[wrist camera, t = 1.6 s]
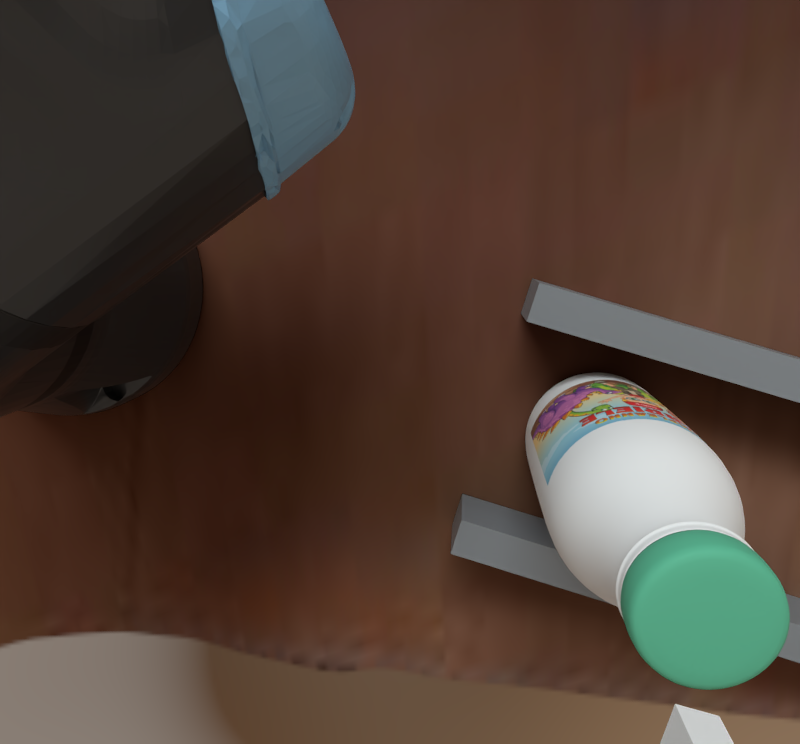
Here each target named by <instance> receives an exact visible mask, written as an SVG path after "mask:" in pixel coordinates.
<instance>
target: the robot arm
mask: <svg viewBox="0 0 800 744" xmlns="http://www.w3.org/2000/svg"><path fill="white" fill-rule="evenodd" d="M354 100H355V83H354V77H353V72H352V68H351V65H350V62H349V59H348V57H347V54H346V51H345V49H344V46H343V44H342V41H341V39H340V36H339V34H338V32H337V29H336V27H335V25H334V22H333V20H332V18H331V15H330V13H329V11H328V8H327V6H326V4H325V2H324V0H0V417H2V416H5V415H7V414H10V413H12V412H15V411H17V410H18V411H27V412H36V413H44V414H53V415H67V416H70V415H84V414H91V413H97V412H101V411H105V410H108V409H111V408H114V407H117V406H119V405H121V404H124V403H126V402H128V401H130V400H132V399H134V398H137V397H139V396H141V395H143V394H144V393H146V392H148V391H149V390H151V389H152V388H154V387H155V386H157V385H158V384H159V383H160V382H162V381H163V380H164V379H165V378H166V377H167V376H168V375H169V374H170V373H171V372H172V371H173V370H174V368H175V367H176V366H177V365H178V363H179V362H180V361H181V359H182V358H183V356H184V355H185V353H186V351H187V349H188V347H189V346H190V343H191V341H192V339H193V337H194V334H195V331H196V328H197V325H198V321H199V317H200V312H201V305H202V292H203V286H202V271H201V265H200V259H199V255H198V251H197V248H196V247H197V246H198V245H199V244H201V243H202V242H203V241H205V240H206V239H207V238H209V237H210V236H211V235H213V234H214V233H215V232H217V231H218V230H219V229H221V228H222V227H224V226H225V225H226V224H228V223H229V222H230V221H232V220H233V219H234V218H236V217H237V216H238V215H240V214H241V213H242V212H244V211H245V210H246V209H248V208H249V207H250V206H252V205H253V204H254V203H256V202H257V201H259V200H260V199H261V198H263V197H264V196H265V197H266V198H267V199H268V200H270V199H272V198H273V197H274V196H276V195H277V194H278V193H279V191H280V186H281V183H282V182H283V181H285V180H286V179H287V178H288V177H289V176H291V175H292V174H293V173H294V172H296V171H297V170H298V169H299V168H301V167H302V166H303V165H304V164H305V163H307V162H308V161H309V160H310V159H312V158H313V157H314V156H315V155H316V154H318V153H319V152H320V151H321V150H323V149H324V148H325V147H326V146H327V145H329V144H330V143H331V142H332V141H334V140H335V139H336V138H337V137H338V136H339V135H340V133H341V132H342V131H343V130H344V128H345V127H346V125H347V123H348V122H349V120H350V117H351V114H352V111H353V107H354ZM660 744H734V743H733V741H732V739H731V738H730V736H729V733H728V732H727V730H726V728H725V726H724V724H723V722H722V720H721V718H720V717H719V716H717V715H714V714H710V713H706V712H703V711H699V710H696V709H692V708H688V707H685V706H681V705H677V704H675V706H674V708H673V711H672V714H671V716H670V719H669V722H668V724H667V727H666V729H665V732H664V735H663V737H662V740H661V742H660Z"/></svg>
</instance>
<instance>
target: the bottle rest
mask: <svg viewBox="0 0 800 744" xmlns="http://www.w3.org/2000/svg"><path fill="white" fill-rule="evenodd" d="M521 314H522V316H523V317H524V318H525V320H526V321H527V322H530V323H533V324H537V325H540V326H543V327H547V328H550V329H554V330H557V331H560V332H564V333H567V334H570V335H574V336H577V337H580V338H584V339H587V340H590V341H594V342H597V343H600V344H604V345H607V346H611V347H614V348H617V349H621V350H624V351H627V352H631V353H634V354H637V355H641V356H644V357H647V358H651V359H654V360H657V361H661V362H664V363H668V364H671V365H674V366H678V367H681V368H684V369H688V370H691V371H694V372H698V373H701V374H704V375H708V376H711V377H714V378H718V379H721V380H725V381H728V382H731V383H735V384H738V385H741V386H745V387H748V388H751V389H755V390H758V391H761V392H765V393H768V394H771V395H775V396H778V397H782V398H785V399H788V400H792V401H795V402H798V403H800V358H799V357H796V356H793V355H789V354H786V353H782V352H779V351H776V350H772V349H769V348H765V347H762V346H759V345H755V344H752V343H749V342H745V341H742V340H738V339H735V338H732V337H728V336H725V335H722V334H718V333H715V332H711V331H708V330H705V329H701V328H698V327H694V326H691V325H688V324H684V323H681V322H678V321H674V320H671V319H667V318H664V317H661V316H657V315H654V314H651V313H647V312H644V311H640V310H637V309H634V308H630V307H627V306H623V305H620V304H617V303H613V302H610V301H607V300H603V299H600V298H596V297H593V296H590V295H586V294H583V293H579V292H576V291H573V290H569V289H566V288H563V287H559V286H556V285H552V284H549V283H546V282H542V281H539V280H536V279H532V281H531V284H530V287H529V290H528V293H527V296H526V299H525V302H524V306H523V309H522V312H521ZM451 554H453V555H456V556H459V557H462V558H466V559H469V560H472V561H475V562H478V563H482V564H485V565H488V566H491V567H494V568H498V569H501V570H504V571H507V572H510V573H514V574H517V575H520V576H523V577H526V578H530V579H533V580H536V581H539V582H542V583H546V584H549V585H552V586H555V587H558V588H561V589H565V590H568V591H571V592H574V593H577V594H581V595H584V596H587V597H590V598H593V599H597V600H600V601H603V602H606V603H609V602H607V601H605V600H603V599H602V598H600V597H598V596H597V595H596V594H594V593H593V592H591V591H590V590H589V589H588V588H586V587H585V586H584V585H583V584H582V583H581V582H580V581H579V580H578V579H577V578H576V577H575V576H574V575H573V573H572V572H571V571H570V570H569V569H568V567H567V566H566V564H565V563H564V561H563V560H562V558H561V557H560V555H559V553H558V551H557V550H556V548H555V546H554V543H553V541H552V538H551V536H550V533H549V531H548V528H547V525H546V523H545V519H542V518H539V517H536V516H533V515H529V514H526V513H523V512H520V511H516V510H513V509H510V508H507V507H504V506H500V505H497V504H494V503H491V502H487V501H484V500H481V499H478V498H474V497H471V496H468V495H465V494H462V496H461V499H460V502H459V505H458V508H457V511H456V515H455V518H454V521H453V524H452V538H451ZM786 597H787V601H788V605H789V611H790V624H789V631H788V635H787V638H786V641H785V643H784V646H783V648H782V649H781V651H780V653H779V654H778V656H779V657H782V658H785V659H788V660H791V661H795V662H798V663H800V598H798V597H794V596H791V595H788V594H786ZM609 604H610V603H609Z"/></svg>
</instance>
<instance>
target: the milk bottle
mask: <svg viewBox="0 0 800 744" xmlns="http://www.w3.org/2000/svg"><path fill="white" fill-rule="evenodd" d="M525 446H526V453H527V459H528V463H529V467H530V471H531V474H532V478H533V482H534V485H535V489H536V493H537V496H538V499H539V503H540V506H541V509H542V513H543V516H544V519H545V523H546V525H547V528H548V531H549V533H550V536H551V538H552V541H553V543H554V546H555V548H556V550H557V551H558V553H559V555H560V557H561V558H562V560H563V561H564V563H565V564H566V566H567V567H568V569H569V570H570V571H571V572H572V573H573V575H574V576H575V577H576V578H577V579H578V580H579V581H580V582H581V583H582V584H583V585H584V586H585V587H586V588H588V589H589V590H590V591H591V592H593V593H594V594H596V595H597V596H598V597H600V598H602V599H603V600H605V601H607V602H609V603H610V604H612V605H615V606H617V607H618V608H619V611H620V614H621V616H622V618H623V620H624V623H625V626H626V629H627V631H628V634H629V636H630V638H631V640H632V642H633V644H634V646H635V648H636V650H637V651H638V653H639V654H640V656H641V657H642V658H643V659H644V660H645V662H646V663H647V664H648V665H650V666H651V667H652V668H653V669H654V670H655V671H656V672H657V673H659V674H660V675H662V676H663V677H665V678H666V679H668V680H670V681H672V682H674V683H677V684H679V685H682V686H685V687H689V688H694V689H703V690H714V689H723V688H728V687H733V686H736V685H739V684H741V683H744V682H746V681H748V680H750V679H752V678H754V677H755V676H757V675H758V674H760V673H761V672H762V671H764V670H765V669H766V668H767V667H768V666H769V665H770V664H771V663H772V662H773V661H774V660H775V659H776V657H777V656H778V654H779V653H780V651H781V649H782V648H783V646H784V643H785V641H786V638H787V635H788V631H789V624H790V611H789V605H788V601H787V597H786V594H785V591H784V589H783V587H782V585H781V583H780V581H779V579H778V578H777V576H776V575H775V573H774V572H773V571H772V570H771V568H770V567H769V566H768V565H767V563H766V562H765V561H764V560H763V559H762V558H761V557H760V556H759V555H758V554H757V553H756V552H755V551H754V550H753V549H752V548H751V546H750V545H749V544H748V543H747V542H746V541H745V540H744V538H745V520H744V512H743V506H742V502H741V499H740V496H739V493H738V490H737V488H736V485H735V483H734V481H733V479H732V477H731V475H730V474H729V472H728V470H727V469H726V467H725V466H724V464H723V463H722V461H721V460H720V458H719V457H718V456H717V455H716V454H715V452H714V451H713V450H712V449H711V448H710V447H709V446H708V445H707V444H706V443H705V442H704V441H703V440H702V439H701V438H700V437H699V436H698V435H697V434H696V433H695V432H694V431H692V430H691V429H690V428H689V427H688V426H687V425H686V424H685V423H683V422H682V421H681V420H680V419H679V418H678V417H677V416H675V415H674V414H673V413H672V412H671V411H670V410H668V409H667V408H666V407H665V406H664V405H662V404H661V403H660V402H659V401H658V400H656V399H655V398H654V397H653V396H652V395H650V394H649V393H648V392H647V391H645V390H644V389H643V388H641V387H640V386H638V385H637V384H635V383H634V382H632V381H630V380H628V379H626V378H624V377H621V376H618V375H614V374H609V373H601V372H593V373H584V374H579V375H576V376H572V377H570V378H567V379H565V380H563V381H561V382H559V383H558V384H556V385H555V386H553V387H552V388H551V389H550V390H548V391H547V392H546V393H545V394H544V395H543V396H542V397H541V399H540V400H539V401H538V403H537V404H536V405H535V407H534V409H533V411H532V413H531V415H530V417H529V420H528V423H527V428H526V435H525Z"/></svg>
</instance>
